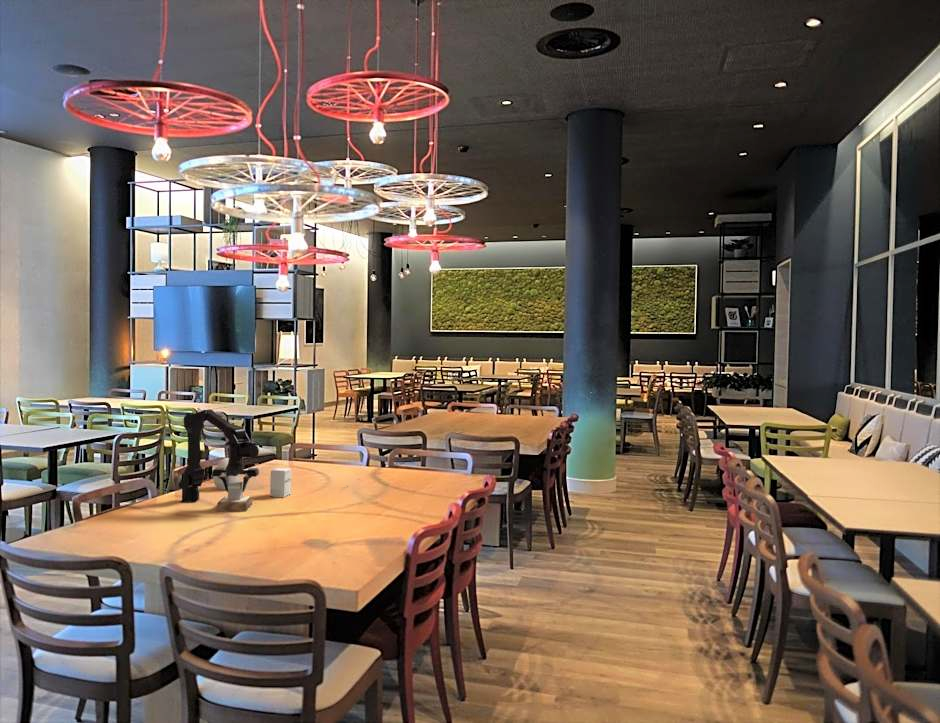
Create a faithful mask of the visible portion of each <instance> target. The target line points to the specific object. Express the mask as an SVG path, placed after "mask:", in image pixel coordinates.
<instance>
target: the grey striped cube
mask: <svg viewBox="0 0 940 723" xmlns="http://www.w3.org/2000/svg"><path fill="white" fill-rule="evenodd" d="M242 488H243V481H239V482H230V483H229V484H228V492H227V496H228V500H240V499H241V498H242V496H243V493H244V492H242Z"/></svg>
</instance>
